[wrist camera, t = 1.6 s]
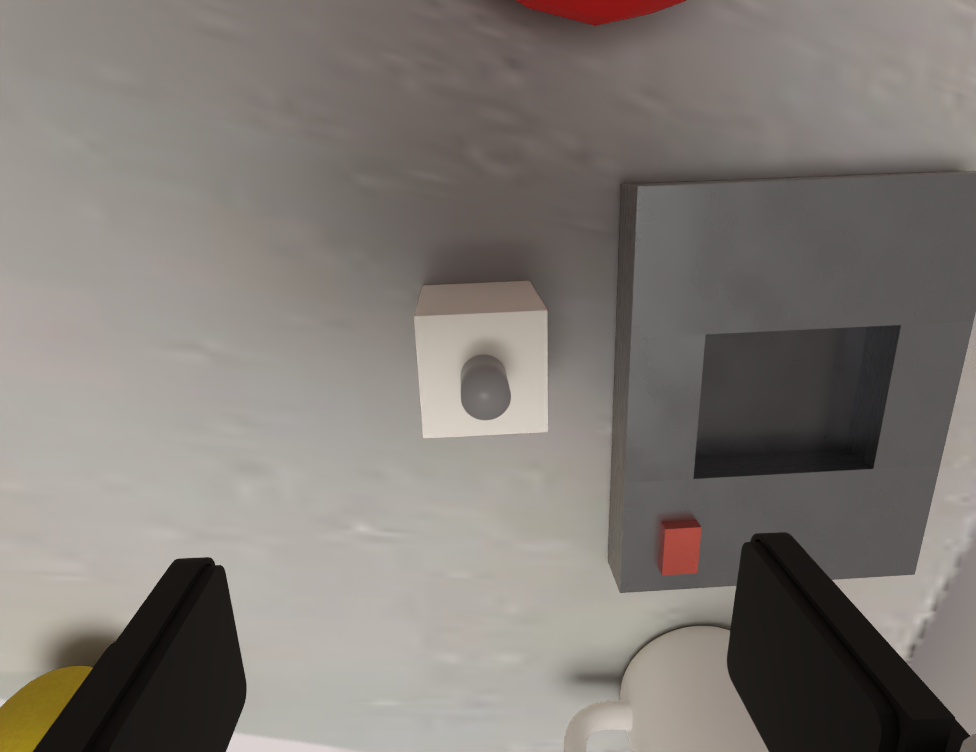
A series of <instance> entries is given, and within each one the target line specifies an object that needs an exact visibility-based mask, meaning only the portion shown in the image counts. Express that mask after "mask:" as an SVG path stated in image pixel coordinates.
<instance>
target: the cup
mask: <svg viewBox="0 0 976 752" xmlns="http://www.w3.org/2000/svg"><path fill="white" fill-rule="evenodd" d="M729 637H730V631H729V630H727V629H723V628H719V627H714V626H691V627H685V628H680V629H676V630H673V631H670V632H668V633H666V634H663V635H661V636H659V637H657V638H656V639H654V640H653V641H651V642H650V643H648V644H647V645H646V646H645V647H643V648H642V649H641V650H640V651H639V652H638V653H637V654H636V656H635V657H634V658H633V659H632V661H631V662H630V664H629V666H628V668H627V669H626V672H625V674H624V676H623V679H622V683H621V690H620V701H606V702H600V703H596V704H593V705H590V706H588V707H586V708H584V709H582V710H581V711H579V712H578V713H577V714H576V715H575V716H574V717H573V719H572V720H571V722H570V724H569V726H568V728H567V730H566V734H565V739H564V752H586V746H587V740H588V738H589V736H590V735H591V734H592V733H594V732H596V731H599V730H605V729H618V730H627V734H628V737H629V740H630V744H631V747H632V750H633V752H769V751H768V749H767V747H766V745H765V744H764V742H763V740H762V738H761V736H760V734H759V732H758V730H757V728H756V727H755V725H754V723H753V721H752V719H751V717H750V715H749V713H748V711H747V710H746V708H745V706H744V704H743V702H742V700H741V698H740V696H739V694H738V693H737V691H736V689H735V687H734V685H733V683H732V681H731V679H730V676H729V673H728V668H727V652H728V645H729Z"/></svg>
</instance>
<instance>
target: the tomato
mask: <svg viewBox="0 0 976 752" xmlns="http://www.w3.org/2000/svg"><path fill="white" fill-rule="evenodd" d="M516 1H517V2H519V3H521V4H522V5H524V6H526V7H527V8H531V9H534V10H538V11H542V12H546V13H549V14H553V15H557V16H561V17H565V18H568V19H572V20H576V21H580V22H584V23H587V24H591V25H600V24H605V23H610V22H615V21H620V20H624V19H629V18H633V17H637V16H642V15H646V14H650V13H653V12H656V11H659V10H662V9H664V8H667V7H670V6H673V5H675V4H678V3H681V2H684V1H686V0H516Z"/></svg>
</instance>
